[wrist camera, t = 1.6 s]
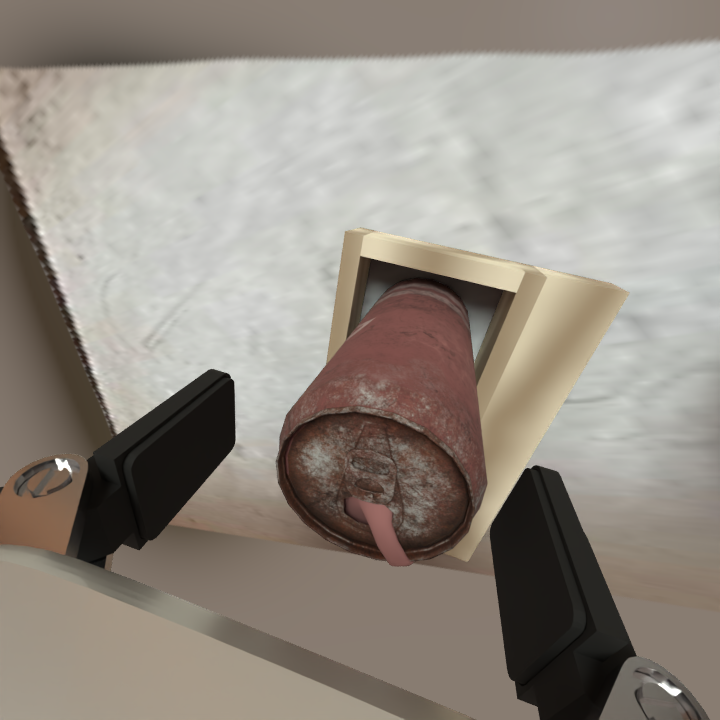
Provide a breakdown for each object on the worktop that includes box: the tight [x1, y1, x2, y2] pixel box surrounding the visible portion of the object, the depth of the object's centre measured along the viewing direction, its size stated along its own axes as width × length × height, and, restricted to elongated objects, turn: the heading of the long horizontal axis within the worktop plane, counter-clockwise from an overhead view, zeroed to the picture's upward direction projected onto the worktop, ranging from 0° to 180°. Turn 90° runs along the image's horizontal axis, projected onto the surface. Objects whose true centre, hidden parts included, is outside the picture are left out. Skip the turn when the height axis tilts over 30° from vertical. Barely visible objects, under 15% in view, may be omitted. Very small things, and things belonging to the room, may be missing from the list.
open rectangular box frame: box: [326, 228, 629, 562], centre depth 21 cm, size 14×23×4 cm, turn 170°
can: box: [276, 278, 488, 566], centre depth 14 cm, size 6×6×14 cm
